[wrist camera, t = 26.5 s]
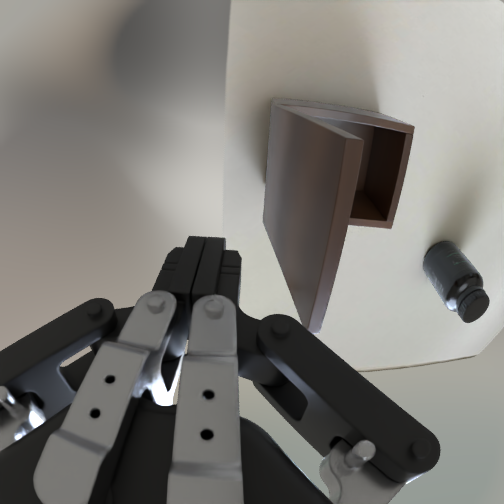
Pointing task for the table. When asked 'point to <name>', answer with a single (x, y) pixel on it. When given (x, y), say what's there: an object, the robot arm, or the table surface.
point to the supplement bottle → (456, 281)
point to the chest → (369, 157)
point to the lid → (309, 204)
